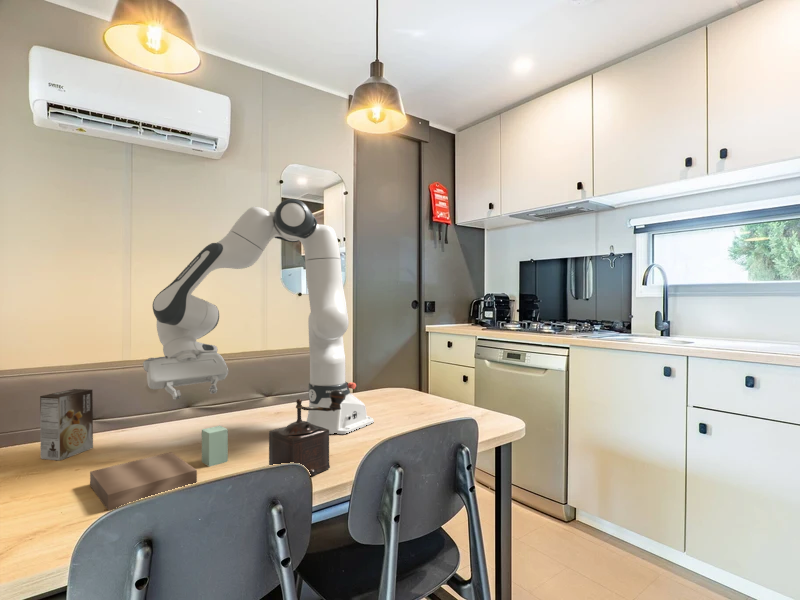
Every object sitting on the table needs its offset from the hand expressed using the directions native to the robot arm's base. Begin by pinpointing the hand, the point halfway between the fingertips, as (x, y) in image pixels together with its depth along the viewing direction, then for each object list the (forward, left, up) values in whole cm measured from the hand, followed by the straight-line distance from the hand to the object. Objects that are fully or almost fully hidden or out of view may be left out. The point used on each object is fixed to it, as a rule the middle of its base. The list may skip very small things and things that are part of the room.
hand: (196, 395), depth 110 cm
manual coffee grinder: (-14, +32, -15) cm, 38 cm away
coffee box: (+24, -22, -15) cm, 36 cm away
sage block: (0, +12, -15) cm, 19 cm away
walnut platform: (+16, +14, -15) cm, 26 cm away
